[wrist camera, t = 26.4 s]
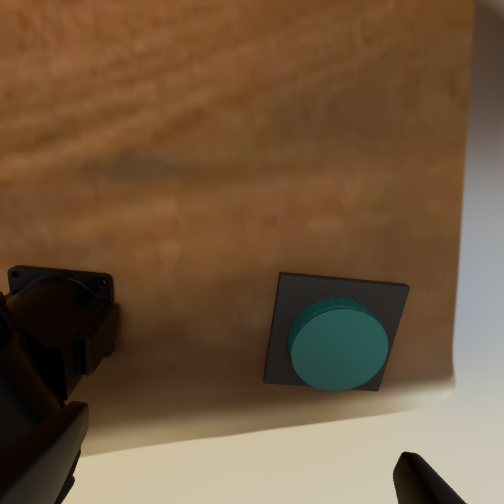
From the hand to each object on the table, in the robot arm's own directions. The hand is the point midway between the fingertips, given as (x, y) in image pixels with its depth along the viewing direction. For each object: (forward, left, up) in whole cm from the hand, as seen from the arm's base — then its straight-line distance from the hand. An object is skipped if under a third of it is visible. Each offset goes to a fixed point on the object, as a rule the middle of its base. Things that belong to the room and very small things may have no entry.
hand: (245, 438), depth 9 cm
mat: (+7, -5, -13) cm, 16 cm away
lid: (+7, -5, -11) cm, 14 cm away
